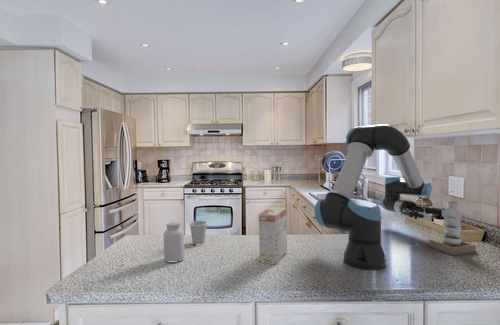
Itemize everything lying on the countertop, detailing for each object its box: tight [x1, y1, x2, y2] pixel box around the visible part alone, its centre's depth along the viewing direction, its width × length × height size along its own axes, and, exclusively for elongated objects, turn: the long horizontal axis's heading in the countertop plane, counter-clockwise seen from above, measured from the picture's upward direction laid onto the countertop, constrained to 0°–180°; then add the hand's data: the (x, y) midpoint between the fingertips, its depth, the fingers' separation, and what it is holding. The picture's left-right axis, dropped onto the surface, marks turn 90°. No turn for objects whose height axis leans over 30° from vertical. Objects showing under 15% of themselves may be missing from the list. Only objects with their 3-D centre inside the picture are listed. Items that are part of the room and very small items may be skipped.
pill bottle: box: [163, 221, 185, 261], centre depth 113 cm, size 8×8×15 cm
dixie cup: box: [189, 220, 208, 245], centre depth 134 cm, size 8×8×10 cm
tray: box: [428, 239, 478, 257], centre depth 119 cm, size 12×12×3 cm
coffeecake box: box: [258, 206, 288, 265], centre depth 114 cm, size 15×7×20 cm, turn 154°
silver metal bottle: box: [442, 201, 463, 247], centre depth 119 cm, size 6×7×20 cm
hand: (443, 216), depth 123 cm, fingers open, 13 cm apart
